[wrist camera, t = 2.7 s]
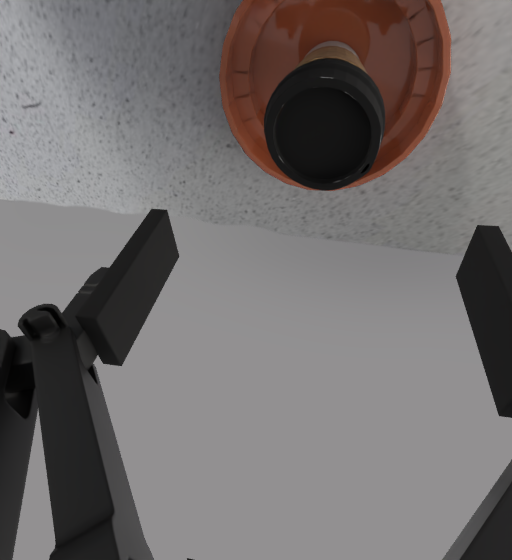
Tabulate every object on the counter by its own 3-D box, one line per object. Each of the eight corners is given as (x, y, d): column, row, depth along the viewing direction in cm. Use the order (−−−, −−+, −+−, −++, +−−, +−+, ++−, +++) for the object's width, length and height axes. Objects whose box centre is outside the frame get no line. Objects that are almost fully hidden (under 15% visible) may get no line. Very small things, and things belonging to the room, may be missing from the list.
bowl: (241, 166, 43) (231, 187, 40) (221, -52, 30) (204, -49, 27) (411, 171, 40) (417, 194, 37) (471, -72, 27) (490, -72, 23)
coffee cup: (339, 137, 39) (335, 216, 28) (270, 93, 37) (237, 159, 26) (396, 58, 33) (418, 119, 22) (317, 1, 31) (301, 38, 21)
